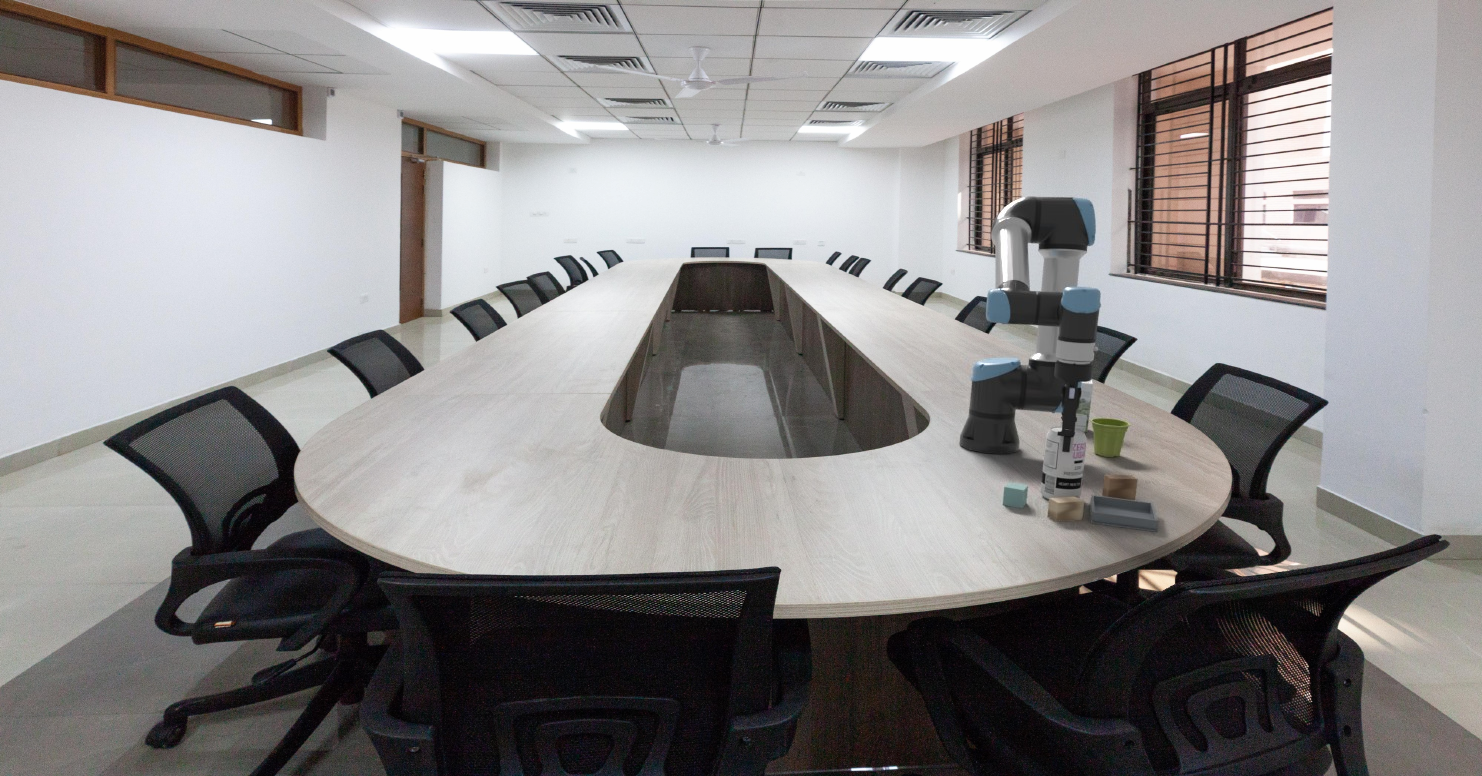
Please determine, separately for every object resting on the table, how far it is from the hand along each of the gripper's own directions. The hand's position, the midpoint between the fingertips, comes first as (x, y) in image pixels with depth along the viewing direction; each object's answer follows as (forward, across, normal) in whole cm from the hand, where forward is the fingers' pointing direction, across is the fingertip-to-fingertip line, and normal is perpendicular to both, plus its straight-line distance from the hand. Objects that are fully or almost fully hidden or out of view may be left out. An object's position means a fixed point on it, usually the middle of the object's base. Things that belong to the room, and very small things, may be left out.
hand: (1064, 458), depth 194 cm
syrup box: (+9, +70, -4) cm, 71 cm away
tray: (+9, -9, -12) cm, 17 cm away
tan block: (+9, -14, -1) cm, 17 cm away
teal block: (+9, -9, +9) cm, 16 cm away
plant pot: (+9, +44, -11) cm, 46 cm away
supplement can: (+9, 0, 0) cm, 9 cm away
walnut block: (+9, +5, -12) cm, 16 cm away
